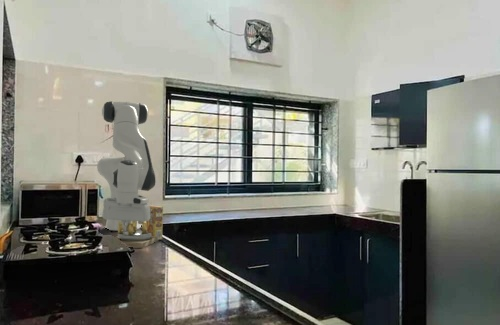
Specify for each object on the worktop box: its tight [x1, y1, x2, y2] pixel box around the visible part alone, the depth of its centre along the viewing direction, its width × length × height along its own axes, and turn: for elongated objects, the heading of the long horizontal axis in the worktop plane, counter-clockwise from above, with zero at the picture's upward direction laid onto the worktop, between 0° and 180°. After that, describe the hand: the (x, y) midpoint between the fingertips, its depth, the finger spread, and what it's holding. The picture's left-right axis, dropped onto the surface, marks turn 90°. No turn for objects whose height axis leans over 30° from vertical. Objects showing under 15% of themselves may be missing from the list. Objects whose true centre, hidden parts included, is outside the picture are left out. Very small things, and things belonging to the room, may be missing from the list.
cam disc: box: [117, 221, 151, 241], centre depth 169 cm, size 14×14×7 cm
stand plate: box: [122, 236, 159, 249], centre depth 169 cm, size 18×17×2 cm
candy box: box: [147, 205, 164, 241], centre depth 183 cm, size 9×4×15 cm, turn 44°
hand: (125, 231), depth 165 cm, fingers closed
